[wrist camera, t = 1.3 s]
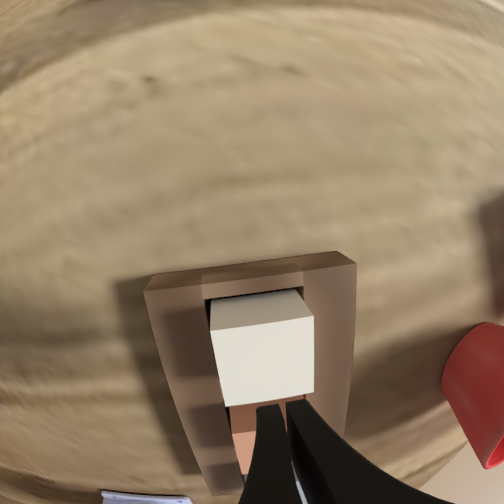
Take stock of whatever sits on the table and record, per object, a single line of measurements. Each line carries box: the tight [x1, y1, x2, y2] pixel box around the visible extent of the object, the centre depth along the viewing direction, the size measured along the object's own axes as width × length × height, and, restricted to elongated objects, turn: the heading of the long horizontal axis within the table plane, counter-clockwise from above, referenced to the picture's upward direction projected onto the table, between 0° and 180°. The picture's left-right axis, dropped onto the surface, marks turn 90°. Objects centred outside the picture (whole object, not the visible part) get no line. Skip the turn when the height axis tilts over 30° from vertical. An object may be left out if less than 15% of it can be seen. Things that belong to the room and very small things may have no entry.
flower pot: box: [441, 322, 504, 469], centre depth 16 cm, size 11×11×10 cm
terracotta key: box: [229, 394, 304, 474], centre depth 15 cm, size 4×4×3 cm
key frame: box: [143, 251, 357, 496], centre depth 17 cm, size 10×18×2 cm, turn 6°
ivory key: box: [210, 289, 314, 407], centre depth 13 cm, size 4×4×3 cm
